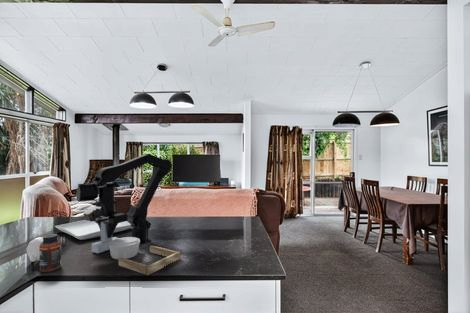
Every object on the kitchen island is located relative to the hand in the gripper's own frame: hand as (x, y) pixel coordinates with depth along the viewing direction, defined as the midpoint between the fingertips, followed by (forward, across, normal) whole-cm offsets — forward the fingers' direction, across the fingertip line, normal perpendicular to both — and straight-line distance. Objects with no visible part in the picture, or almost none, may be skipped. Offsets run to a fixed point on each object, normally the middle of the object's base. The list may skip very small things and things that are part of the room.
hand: (106, 237), depth 105 cm
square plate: (+6, -29, +13) cm, 32 cm away
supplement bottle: (+5, 0, -20) cm, 21 cm away
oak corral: (+5, +25, 0) cm, 25 cm away
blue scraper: (+4, 0, 0) cm, 5 cm away
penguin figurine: (+5, -12, -17) cm, 21 cm away
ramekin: (+5, +11, 0) cm, 12 cm away
